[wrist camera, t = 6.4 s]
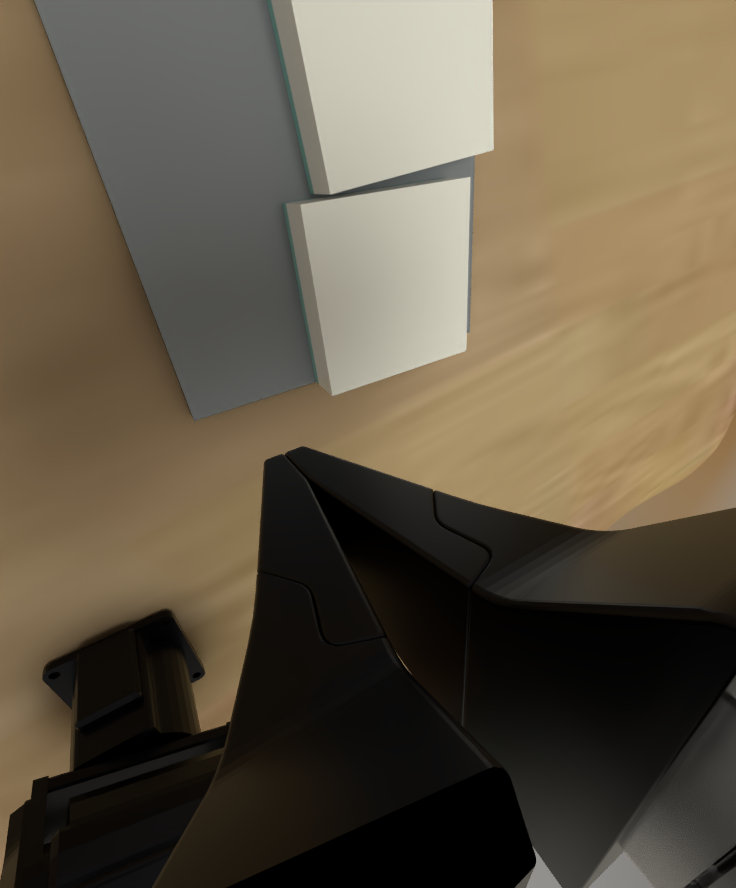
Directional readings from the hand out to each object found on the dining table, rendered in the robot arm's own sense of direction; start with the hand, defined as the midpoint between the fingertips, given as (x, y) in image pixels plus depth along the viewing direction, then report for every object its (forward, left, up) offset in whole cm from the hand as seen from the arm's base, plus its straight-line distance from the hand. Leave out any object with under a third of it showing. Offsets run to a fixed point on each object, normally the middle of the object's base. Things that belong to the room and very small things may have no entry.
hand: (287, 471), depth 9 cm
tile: (0, -5, -11) cm, 12 cm away
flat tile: (+8, -10, -12) cm, 18 cm away
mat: (+4, -7, -13) cm, 15 cm away
